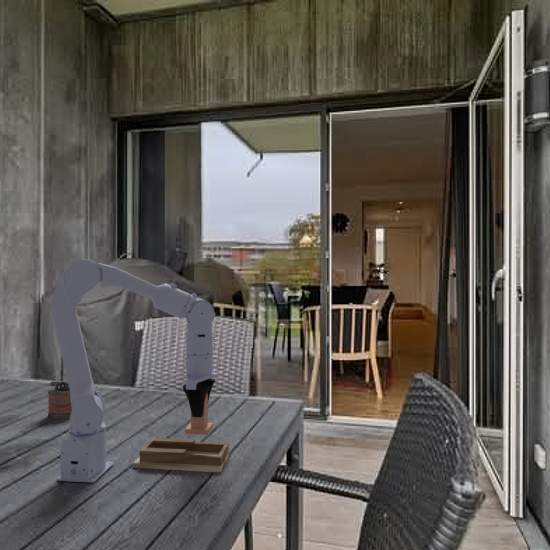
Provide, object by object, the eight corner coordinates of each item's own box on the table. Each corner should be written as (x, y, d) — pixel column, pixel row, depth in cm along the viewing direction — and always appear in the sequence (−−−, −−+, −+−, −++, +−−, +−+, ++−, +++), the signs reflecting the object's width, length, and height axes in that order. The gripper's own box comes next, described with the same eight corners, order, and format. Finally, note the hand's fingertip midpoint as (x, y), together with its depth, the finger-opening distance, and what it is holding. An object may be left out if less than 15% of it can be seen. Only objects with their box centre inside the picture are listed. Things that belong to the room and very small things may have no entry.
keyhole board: (220, 472, 107) (220, 456, 107) (132, 467, 109) (132, 451, 109) (230, 454, 117) (230, 439, 117) (149, 450, 119) (149, 435, 119)
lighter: (79, 414, 147) (79, 379, 146) (75, 417, 143) (74, 382, 143) (50, 414, 147) (50, 379, 146) (45, 418, 143) (45, 382, 143)
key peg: (207, 434, 112) (207, 398, 111) (185, 433, 112) (185, 397, 112) (212, 427, 117) (213, 392, 116) (191, 426, 117) (191, 391, 117)
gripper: (209, 360, 106) (209, 425, 107) (223, 348, 121) (223, 405, 121) (176, 359, 107) (176, 424, 107) (194, 347, 121) (194, 404, 122)
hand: (199, 414), depth 114 cm, fingers closed on key peg, 3 cm apart
